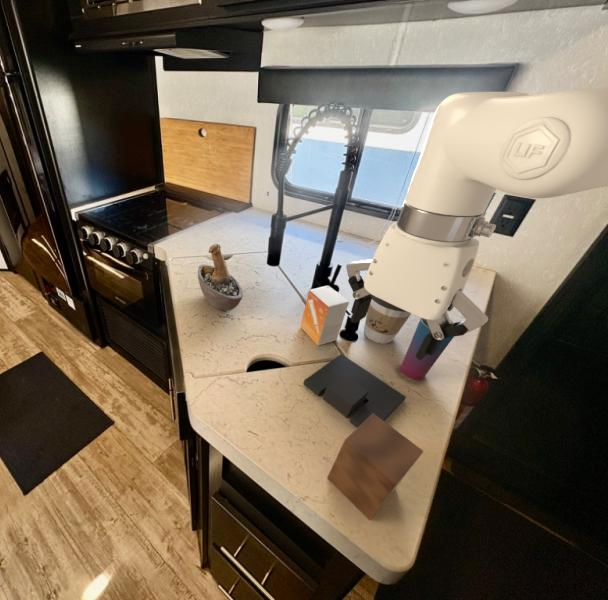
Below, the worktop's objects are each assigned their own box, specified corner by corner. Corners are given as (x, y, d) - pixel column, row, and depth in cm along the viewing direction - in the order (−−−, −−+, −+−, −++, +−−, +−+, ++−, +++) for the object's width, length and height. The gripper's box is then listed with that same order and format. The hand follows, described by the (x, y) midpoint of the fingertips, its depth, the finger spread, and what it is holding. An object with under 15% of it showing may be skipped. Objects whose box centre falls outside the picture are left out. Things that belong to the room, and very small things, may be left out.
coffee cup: (349, 335, 85) (365, 290, 76) (364, 316, 92) (380, 272, 83) (393, 356, 78) (416, 308, 70) (406, 334, 85) (428, 288, 77)
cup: (435, 378, 73) (466, 329, 64) (414, 386, 71) (443, 337, 62) (410, 358, 78) (435, 311, 69) (389, 365, 76) (413, 317, 67)
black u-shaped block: (403, 401, 67) (406, 396, 67) (368, 436, 61) (370, 432, 60) (339, 358, 78) (341, 353, 77) (303, 384, 71) (304, 379, 70)
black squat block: (363, 403, 67) (368, 391, 65) (346, 418, 64) (351, 406, 62) (338, 385, 71) (343, 373, 69) (322, 398, 68) (326, 386, 66)
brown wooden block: (395, 488, 53) (423, 450, 46) (369, 520, 49) (396, 484, 42) (353, 451, 58) (373, 413, 51) (327, 477, 54) (344, 440, 47)
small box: (299, 327, 87) (308, 289, 80) (318, 322, 89) (328, 284, 82) (317, 346, 81) (328, 306, 74) (337, 340, 83) (350, 301, 76)
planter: (201, 286, 105) (200, 230, 93) (249, 295, 101) (255, 238, 89) (184, 311, 94) (181, 251, 82) (238, 323, 89) (243, 261, 78)
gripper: (544, 238, 31) (466, 359, 41) (381, 198, 43) (350, 300, 53) (520, 257, 28) (441, 386, 37) (348, 208, 39) (322, 316, 49)
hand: (387, 335), depth 45 cm, fingers open, 9 cm apart
